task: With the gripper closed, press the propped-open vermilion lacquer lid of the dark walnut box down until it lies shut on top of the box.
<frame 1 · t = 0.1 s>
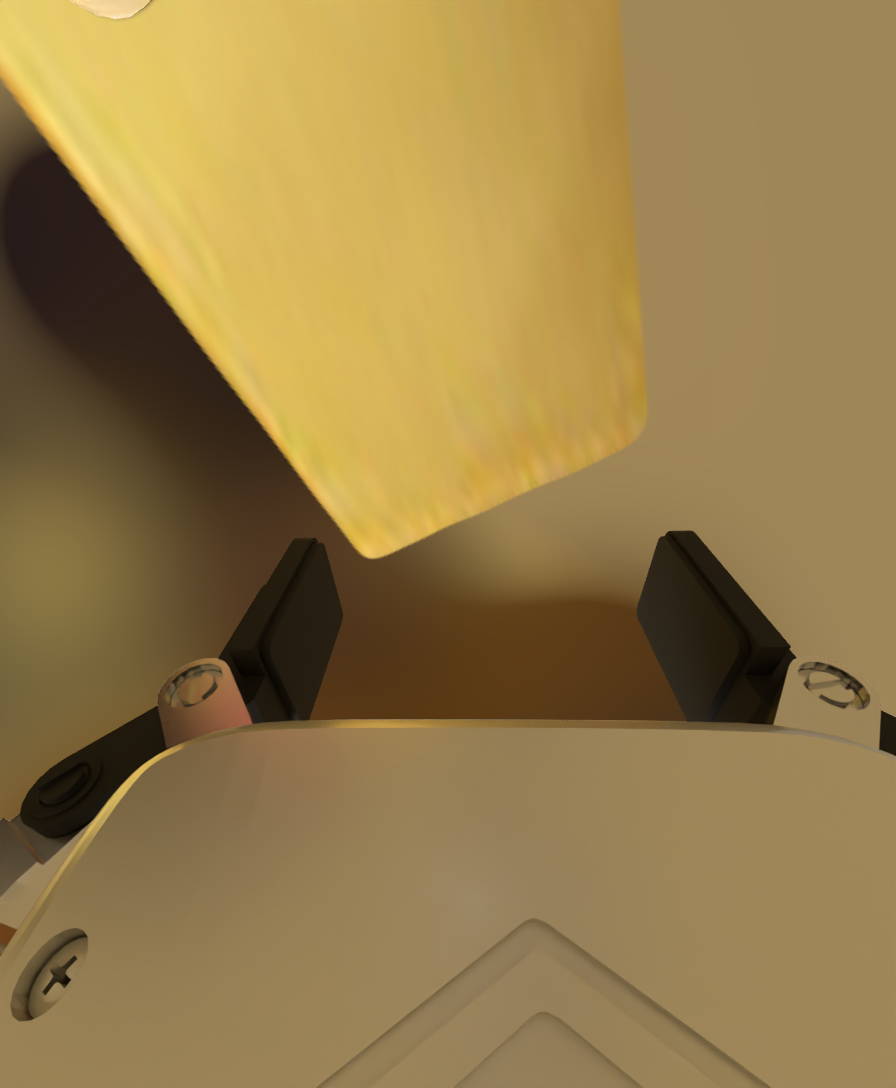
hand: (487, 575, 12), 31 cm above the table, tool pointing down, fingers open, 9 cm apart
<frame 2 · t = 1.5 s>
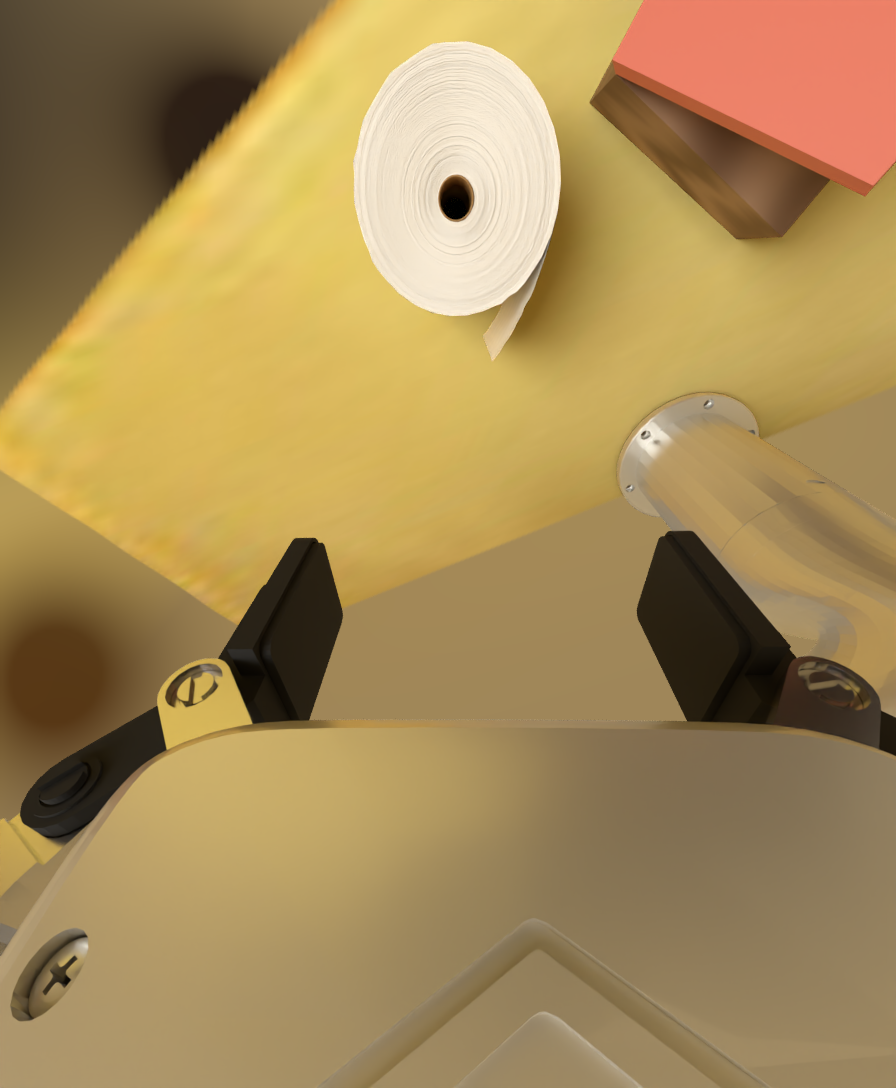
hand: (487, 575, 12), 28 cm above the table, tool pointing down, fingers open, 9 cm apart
toilet tissue: (462, 221, 29), on the table
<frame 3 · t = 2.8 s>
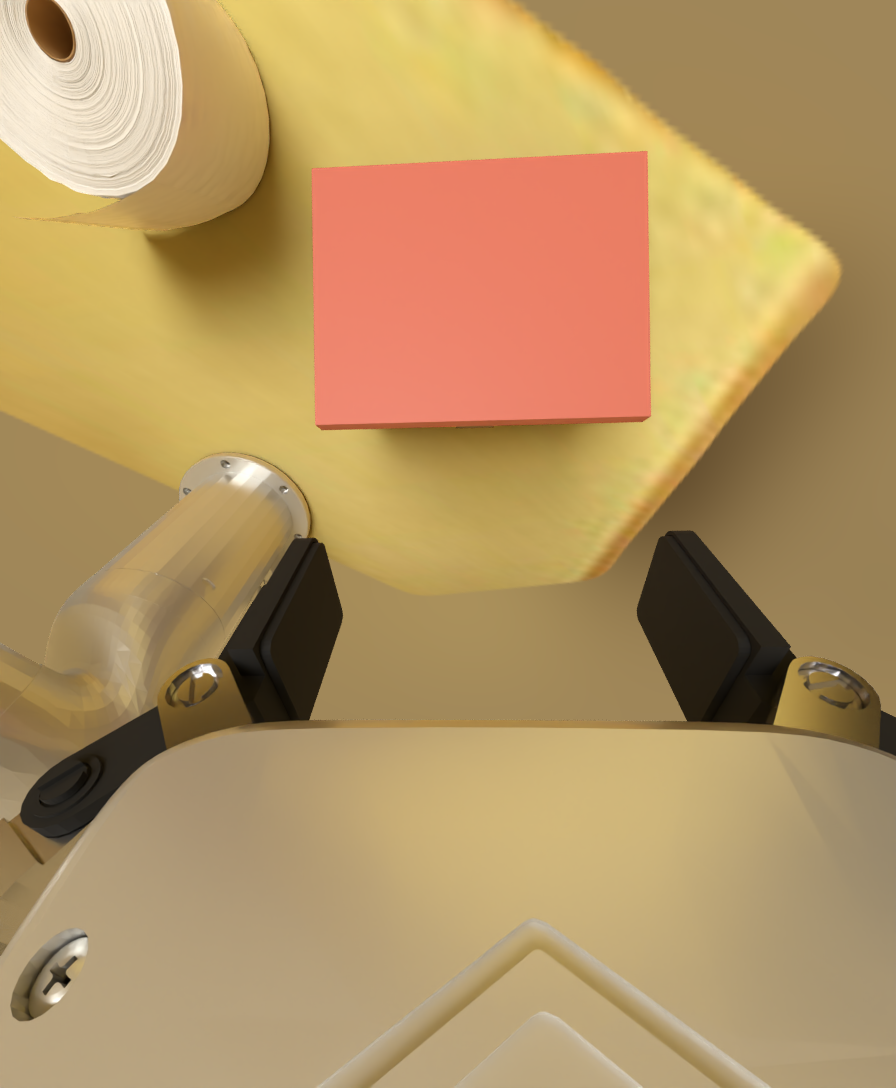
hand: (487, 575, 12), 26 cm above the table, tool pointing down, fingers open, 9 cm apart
lid: (478, 296, 22), point 9 cm above the table, hinge at 35.0°
toilet tissue: (188, 121, 25), on the table
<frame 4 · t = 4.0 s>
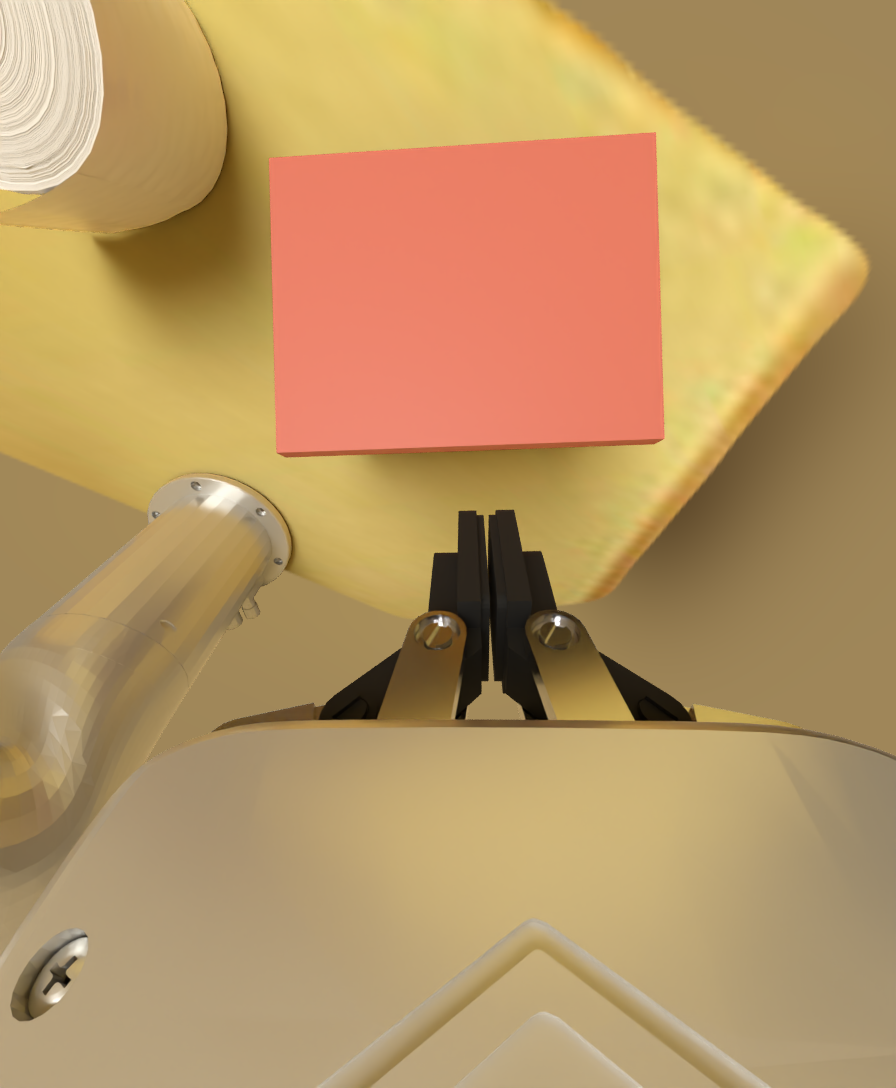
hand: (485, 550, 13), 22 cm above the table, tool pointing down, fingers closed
lid: (462, 301, 19), point 9 cm above the table, hinge at 35.0°
toilet tissue: (134, 108, 23), on the table
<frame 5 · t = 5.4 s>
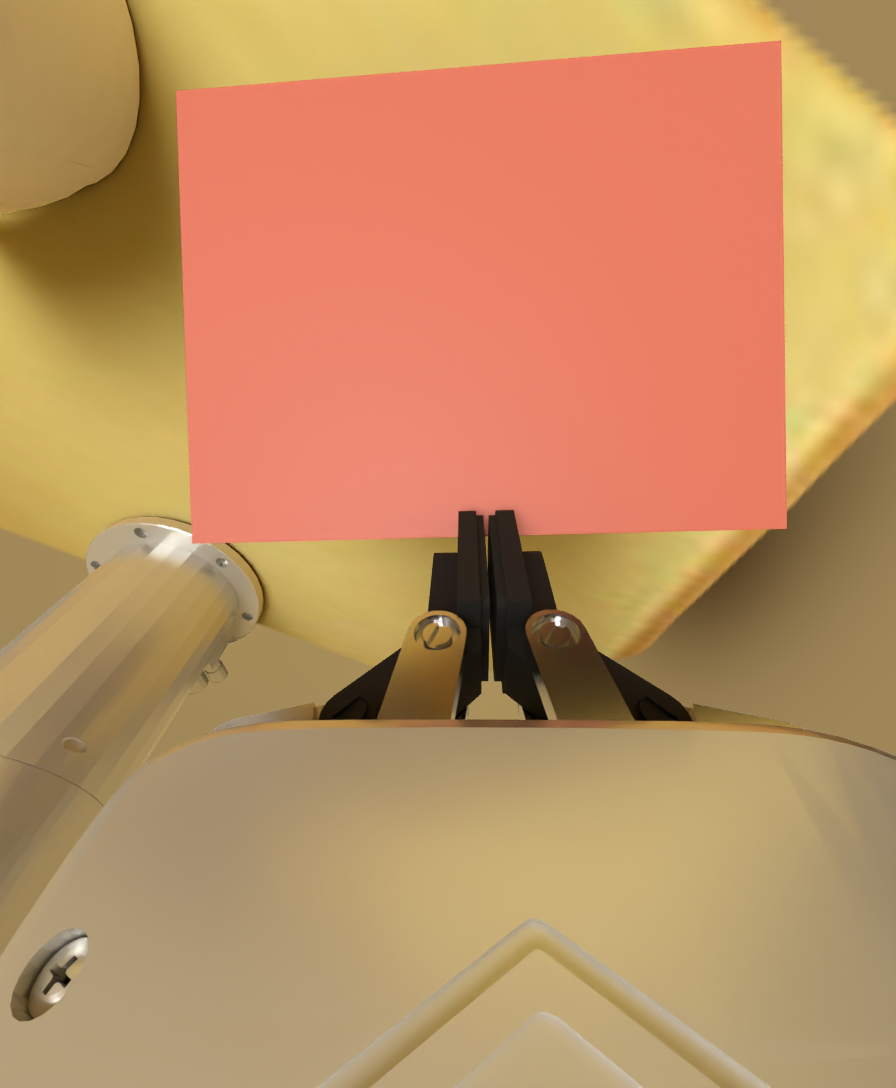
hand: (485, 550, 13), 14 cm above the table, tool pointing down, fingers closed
lid: (472, 313, 13), point 9 cm above the table, hinge at 34.2°, touching gripper
toilet tissue: (8, 36, 16), on the table
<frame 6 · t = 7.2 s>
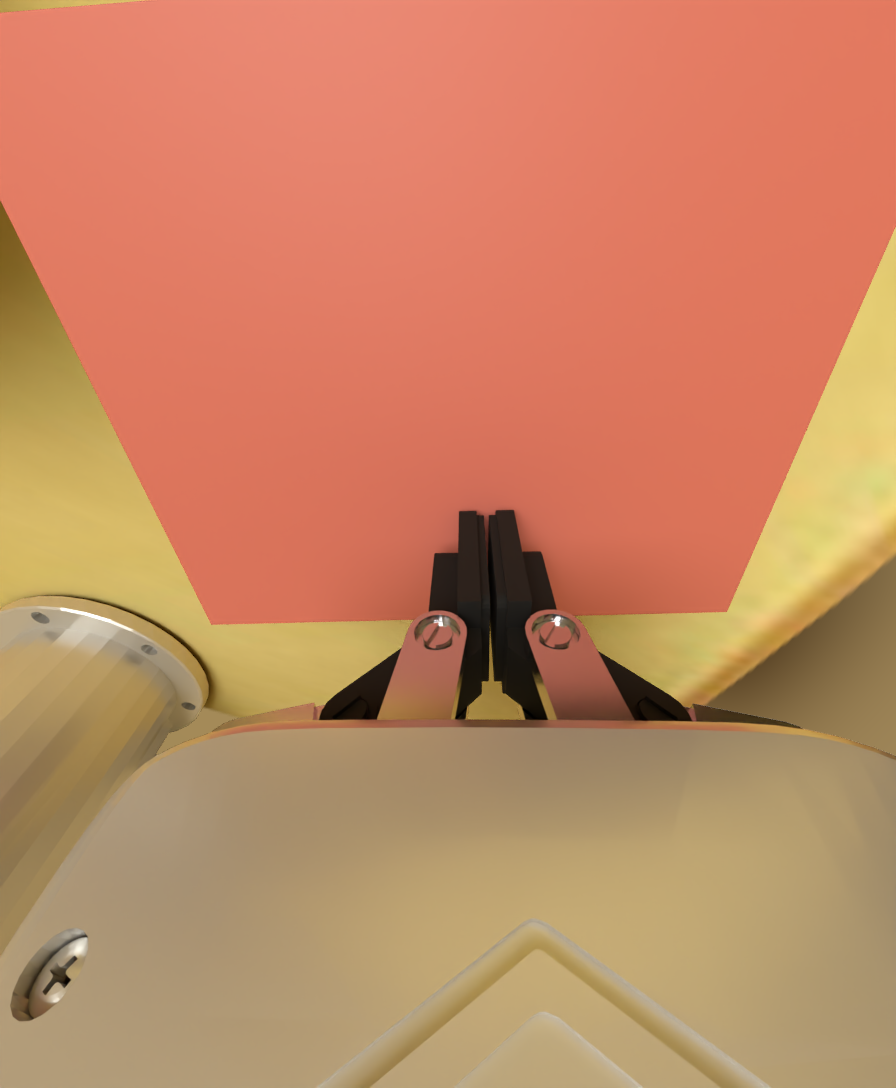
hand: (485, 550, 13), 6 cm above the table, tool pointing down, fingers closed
lid: (455, 410, 11), point 6 cm above the table, hinge at 2.0°, touching gripper
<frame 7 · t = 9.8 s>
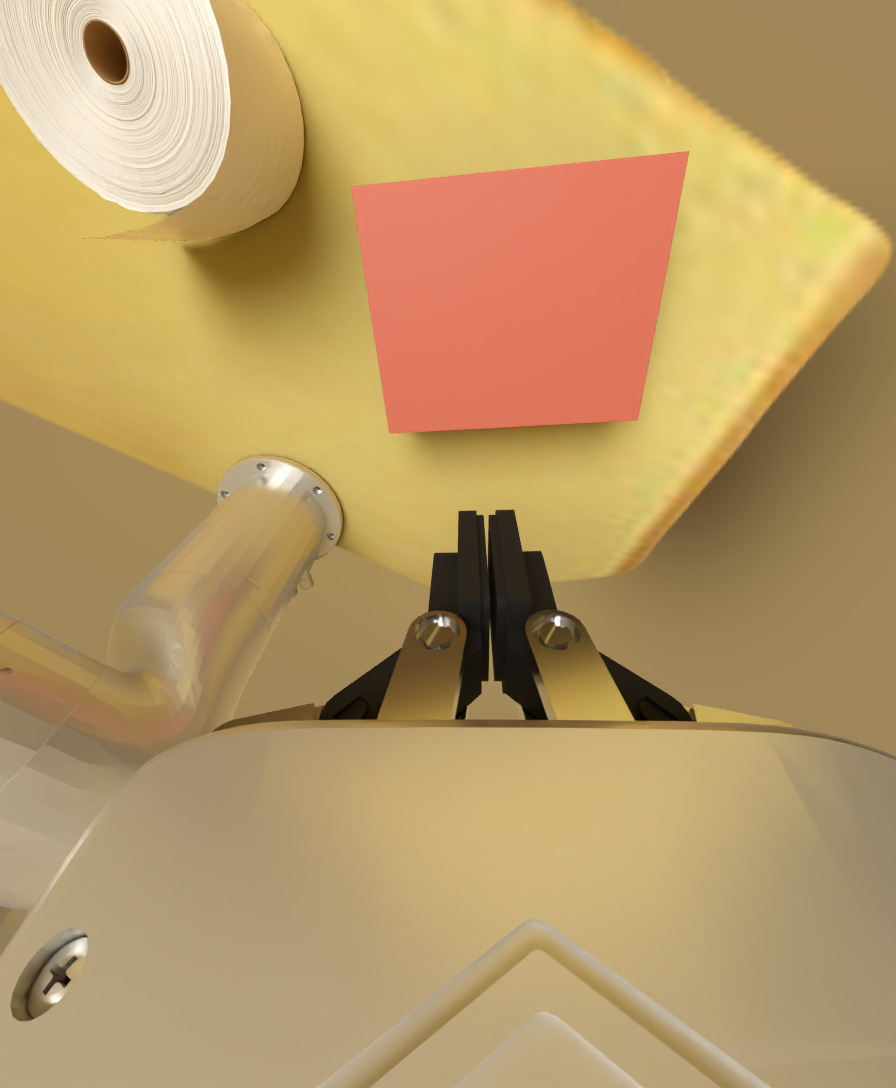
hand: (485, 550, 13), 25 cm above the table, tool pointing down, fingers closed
lid: (511, 317, 26), point 6 cm above the table, hinge at 1.9°
toilet tissue: (225, 131, 26), on the table
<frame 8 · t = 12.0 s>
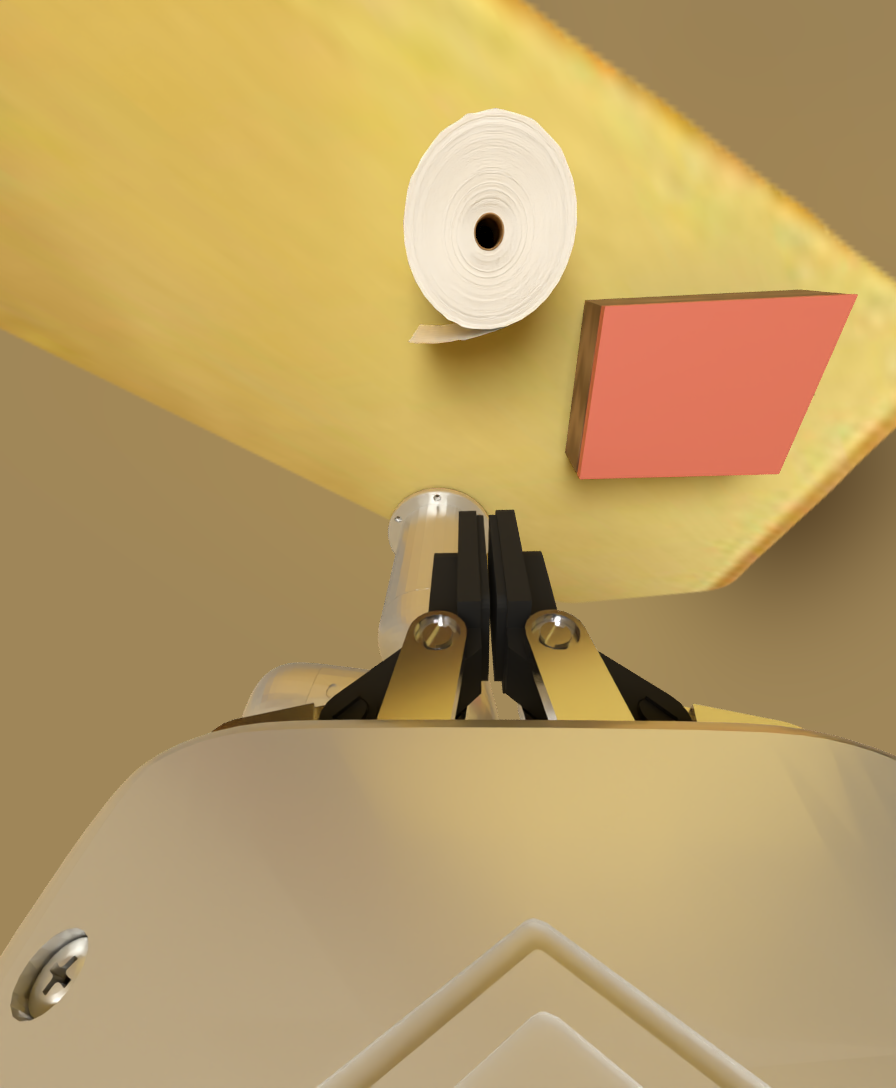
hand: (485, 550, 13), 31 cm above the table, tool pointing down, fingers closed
lid: (697, 397, 34), point 6 cm above the table, hinge at 1.9°
toilet tissue: (481, 249, 33), on the table
walnut box: (669, 380, 39), on the table
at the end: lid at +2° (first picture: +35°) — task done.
